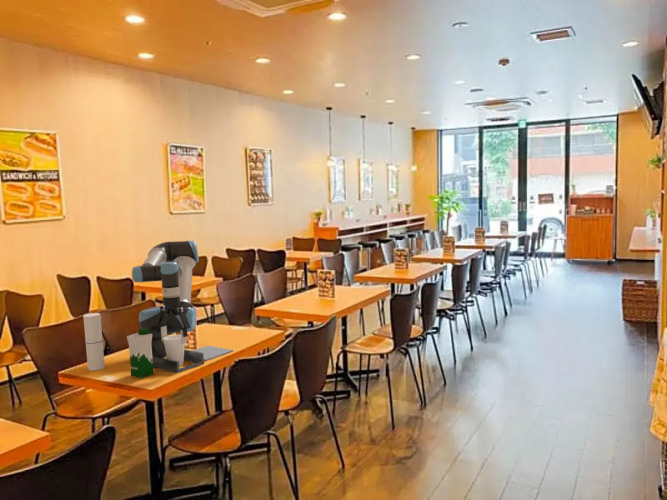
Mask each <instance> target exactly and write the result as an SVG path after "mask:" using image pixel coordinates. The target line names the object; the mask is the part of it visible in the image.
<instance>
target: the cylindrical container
mask: <svg viewBox="0 0 667 500" xmlns="http://www.w3.org/2000/svg"><path fill="white" fill-rule="evenodd" d="M82 317H83V327H84V340H85V350H86V361H87V370H88V371H90V372H91V371H100V370H103V369H105V367H106V366H105V354H104V343H103V333H102V329H103V328H102V320H101V313H99V312H95V313H94V312H93V313H87V314H83V316H82Z"/></svg>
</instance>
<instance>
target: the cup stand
mask: <svg viewBox="0 0 667 500" xmlns="http://www.w3.org/2000/svg"><path fill="white" fill-rule="evenodd" d="M152 359H153V368H154V369H157V370H163V371H167V372H171V373H176V374H179V373H182V372H184V371H188V370H190V369H193V368H196V367H198V366H200V365H204V364H205V361H204V355H203V353H201V352H195V351H193V350H189V349H185V348H184V360H183V362H184V361H185V362H190V363H192V364H188V365H186V366H182V367H181V366H179V361H176V360H171V359H167V357H162V358H161V357H156V356H152Z"/></svg>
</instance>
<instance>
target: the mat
mask: <svg viewBox="0 0 667 500" xmlns="http://www.w3.org/2000/svg"><path fill="white" fill-rule="evenodd" d="M192 351H195V352H201V353H203V355H204V362H207V361H211V360H213V359H216V358H219V357H222V356H224V355H226V354H229V353H232V352H234V350H233V349H230V348H229V349H228V348H223V347H218V346H211V345H206V346H202V347H199V348H196V349H194V350H192Z"/></svg>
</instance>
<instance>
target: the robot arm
mask: <svg viewBox="0 0 667 500" xmlns="http://www.w3.org/2000/svg"><path fill="white" fill-rule="evenodd" d="M199 260H200V259H199V251H198V246H197V242H196V241H194V240H181V241H164V242H161V243H159V244H157V245H155V246H153V247H152V248H151V249H150V250H149V251H148V253H147V257H146V259H145V260H144V262H143V263H142V264H141V265H135V266H132V269H131V278H132V281H133V282H134V283H148V282H149V283H151V282H161V288H162V289H161V292H162V304H163V305H160V306H153V307H152V306H151V307H148V308H145V309H143V310H141V311H140V312H139V314H138V323H139V329H142V328H148V333H151V334H152V342H151V346H152V356H156V357H161V358H166V357H167V354H166V350H165V345H164V340H163V338H164V337H167V336H168V334H176V333H177V334H178V333H180V335H181V344H184V345H186V344H188V333H189V332H193V331H194V330H195V328H196V325H197V315H198V314H197V313H198V312H197V309H196V308H195V307H194V305H193V304H192V303H191V302H192V286H193V285H192V280H193V269H194V267H195V266H196V264H197V263H199Z"/></svg>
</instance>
